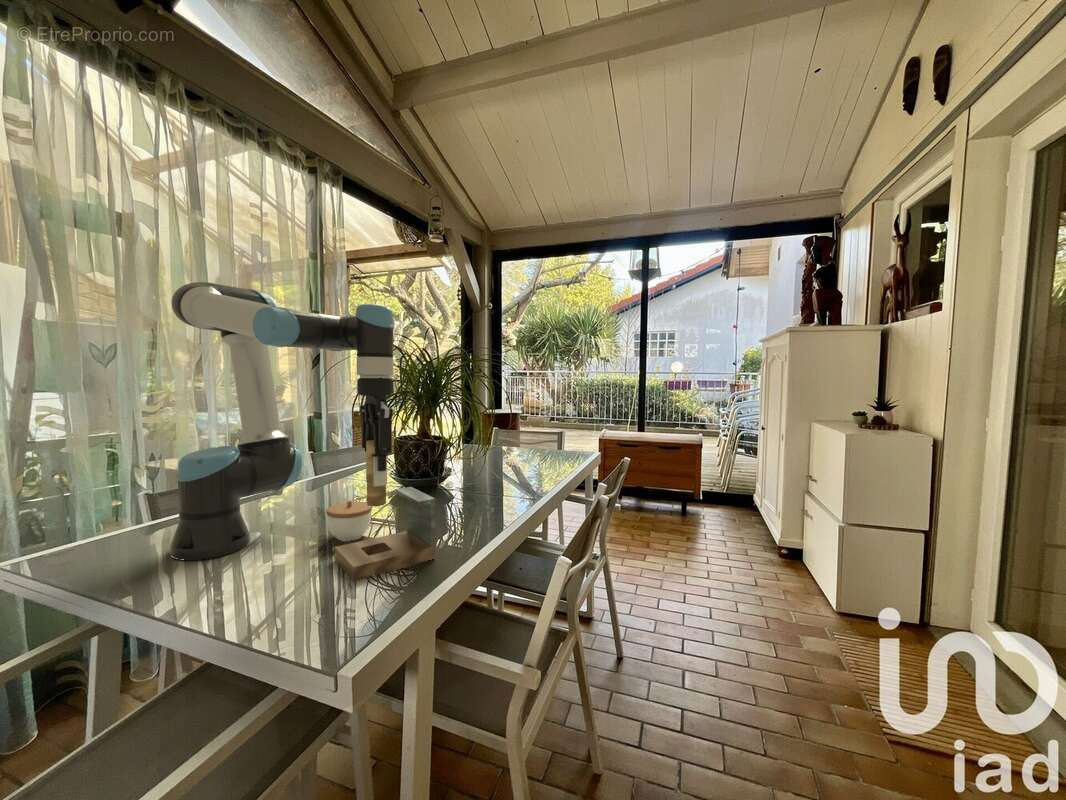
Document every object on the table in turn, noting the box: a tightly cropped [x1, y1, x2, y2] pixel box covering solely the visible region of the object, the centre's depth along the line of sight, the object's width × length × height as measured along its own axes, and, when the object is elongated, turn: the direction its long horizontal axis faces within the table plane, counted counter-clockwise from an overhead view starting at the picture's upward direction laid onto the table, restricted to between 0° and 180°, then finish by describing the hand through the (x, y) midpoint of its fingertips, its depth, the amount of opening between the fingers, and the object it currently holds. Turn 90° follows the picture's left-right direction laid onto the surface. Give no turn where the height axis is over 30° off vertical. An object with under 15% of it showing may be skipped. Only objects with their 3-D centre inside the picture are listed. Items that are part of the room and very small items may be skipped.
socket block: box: [334, 486, 436, 582], centre depth 100 cm, size 18×13×14 cm
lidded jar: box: [326, 500, 373, 542], centre depth 113 cm, size 11×11×9 cm
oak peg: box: [365, 440, 387, 507], centre depth 97 cm, size 4×4×14 cm
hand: (376, 483), depth 98 cm, fingers closed on oak peg, 4 cm apart
